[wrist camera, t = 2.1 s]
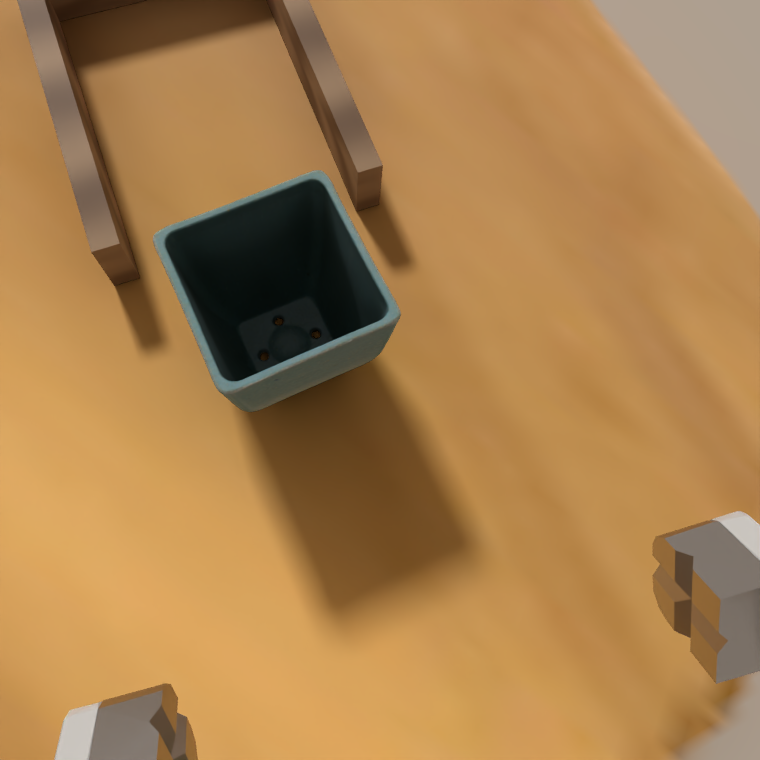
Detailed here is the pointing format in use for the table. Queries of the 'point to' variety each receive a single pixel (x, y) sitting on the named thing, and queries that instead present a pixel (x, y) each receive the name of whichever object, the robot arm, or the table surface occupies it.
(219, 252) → the flower pot
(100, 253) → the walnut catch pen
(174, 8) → the table surface
